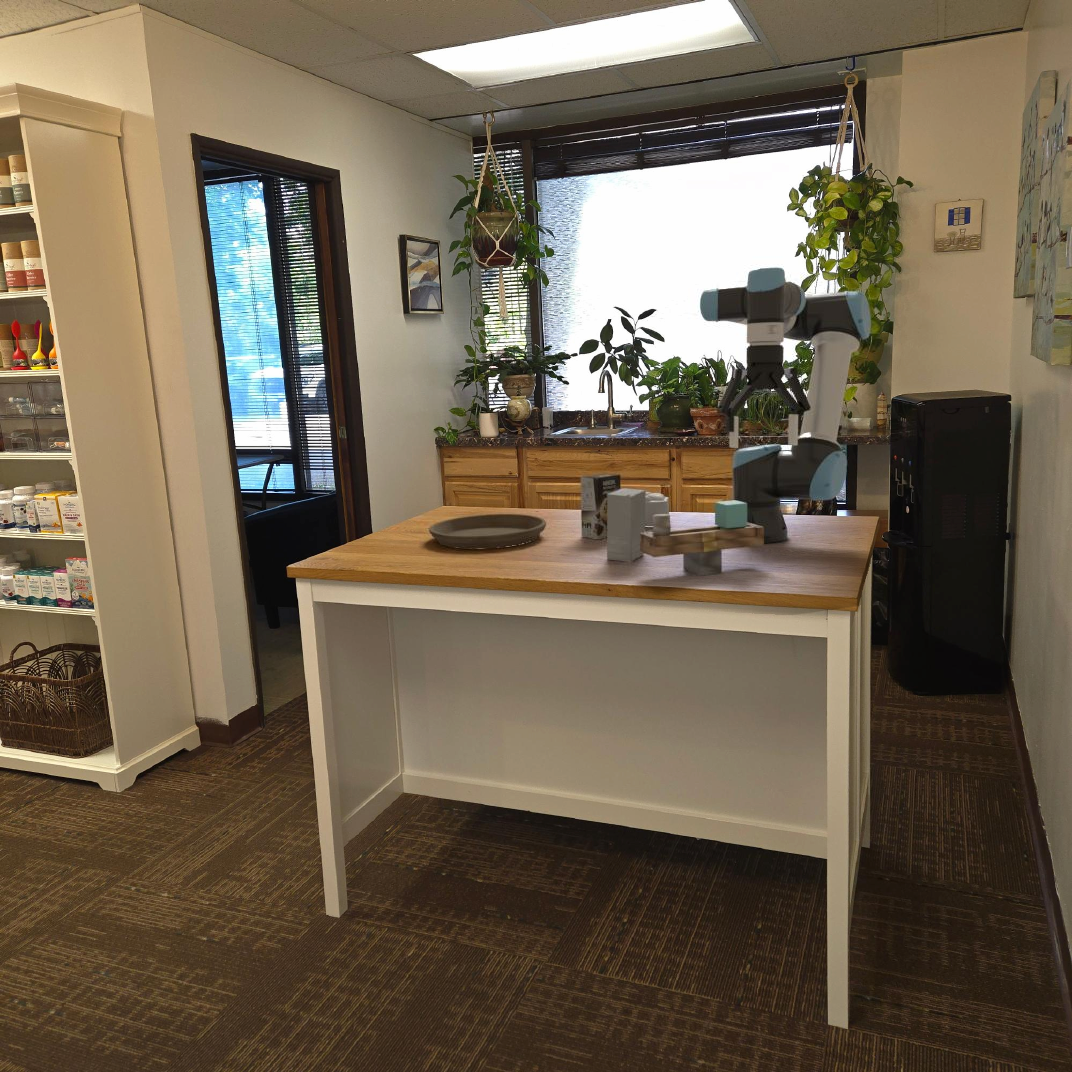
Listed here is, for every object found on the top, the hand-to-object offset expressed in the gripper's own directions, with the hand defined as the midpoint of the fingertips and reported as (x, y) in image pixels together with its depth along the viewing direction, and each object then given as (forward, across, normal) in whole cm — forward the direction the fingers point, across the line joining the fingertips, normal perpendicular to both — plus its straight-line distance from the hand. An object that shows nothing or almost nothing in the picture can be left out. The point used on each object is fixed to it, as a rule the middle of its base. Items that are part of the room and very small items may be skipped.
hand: (763, 446), depth 199 cm
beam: (+26, -13, +2) cm, 30 cm away
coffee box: (+26, -21, +50) cm, 60 cm away
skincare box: (+27, -24, +21) cm, 41 cm away
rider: (+19, -6, +3) cm, 20 cm away
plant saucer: (+27, -50, +58) cm, 81 cm away
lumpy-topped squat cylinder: (+26, -5, +61) cm, 66 cm away
